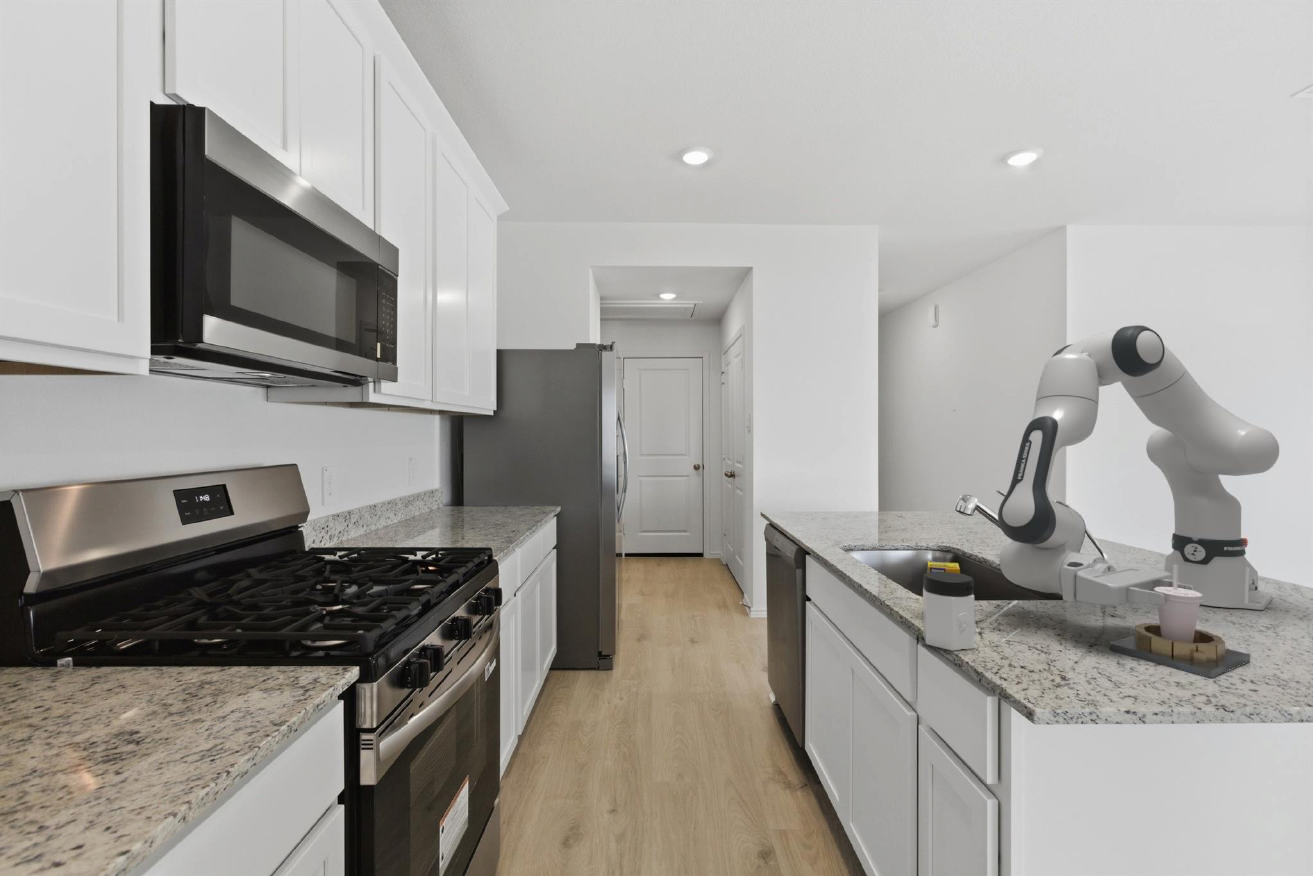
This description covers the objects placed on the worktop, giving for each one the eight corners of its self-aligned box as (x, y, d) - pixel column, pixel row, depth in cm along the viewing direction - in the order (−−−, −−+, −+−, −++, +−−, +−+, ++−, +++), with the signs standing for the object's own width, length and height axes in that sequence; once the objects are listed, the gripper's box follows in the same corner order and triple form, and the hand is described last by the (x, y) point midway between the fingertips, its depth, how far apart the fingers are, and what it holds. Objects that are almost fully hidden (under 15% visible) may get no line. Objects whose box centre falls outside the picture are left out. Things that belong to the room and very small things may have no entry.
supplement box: (927, 620, 124) (927, 566, 124) (926, 612, 130) (926, 560, 130) (960, 623, 122) (960, 568, 122) (958, 615, 128) (958, 562, 128)
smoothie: (1183, 642, 107) (1184, 562, 107) (1212, 655, 101) (1213, 570, 101) (1143, 641, 108) (1144, 561, 108) (1170, 654, 102) (1171, 569, 102)
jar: (941, 653, 107) (941, 583, 106) (912, 637, 114) (912, 572, 114) (986, 648, 109) (986, 580, 108) (954, 633, 116) (954, 570, 116)
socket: (1150, 636, 114) (1150, 616, 114) (1250, 661, 102) (1250, 639, 102) (1109, 649, 107) (1109, 628, 107) (1211, 678, 95) (1211, 654, 95)
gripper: (1118, 587, 121) (1206, 605, 109) (1058, 602, 112) (1148, 623, 99) (1118, 555, 121) (1207, 569, 109) (1058, 567, 112) (1149, 584, 99)
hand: (1178, 595), depth 104 cm, fingers open, 8 cm apart
